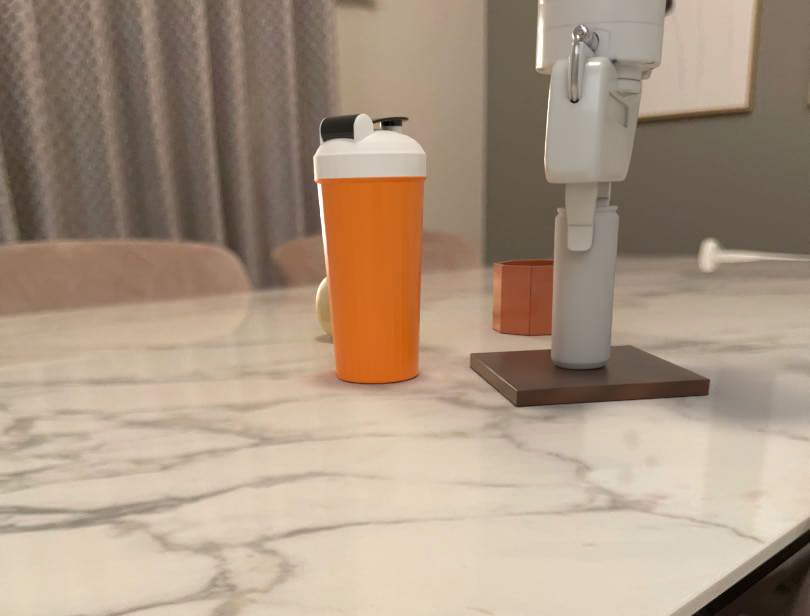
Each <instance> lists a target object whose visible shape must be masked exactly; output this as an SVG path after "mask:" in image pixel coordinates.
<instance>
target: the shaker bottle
mask: <svg viewBox="0 0 810 616" xmlns="http://www.w3.org/2000/svg"><path fill="white" fill-rule="evenodd" d="M409 119H410V118H409V117H407V116H388V117H377V118H371V117H370V116H369V115H368V114H366V113H354V114H345V115H343V114H342V115H333V116H327V117H325V118H323V119H322V120H321V122H320V124H319V128H318V131H319V146H318V147H317V150H316V152H315V154H314V155H313V157H312V158H313V175H314V179H313V180H314V182H315V184H317V192H318V193H317V194H318V202H319V212H320V223H321V232H322V242H323V252H324V261H325V263H324V264H325V271H326V272H325V273H326V277H327V282H328V293H329V303H330V313H331V323H332V333H333V337H332V341H333V342H332V343H333V350H334V351H333V352H334V361H335V371H336V377H337V378H338V379H340V380H342V381H345V382H349V383H356V384H390V383H396V382H397V383H398V382H403V381H408V380H411V379H414V378H415V377H417V376H418V374H419V365H420V364H419V363H420V362H419V361H420V334H421V333H420V330H421V328H420V327H421V326H420V325H421V299H422V298H421V297H422V296H421V294H422V293H421V292H422V264H423V262H422V261H423V259H422V258H423V228H424V227H423V226H424V225H423V224H424V193H425V192H424V191H425V181H426V180H427V179H428V175H427V153H426V152H425V150H424V149H423V147H422V146H421V144H420V142H418V141H417V140H415V139H414V138H412V137H411V136H409V135H406V134H404V133H403V129H402V127H403V123H405V122H408V121H410V120H409ZM375 124H379V128H375V127H374V125H375Z"/></svg>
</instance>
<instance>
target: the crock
mask: <svg viewBox="0 0 810 616" xmlns="http://www.w3.org/2000/svg"><path fill="white" fill-rule="evenodd" d="M553 272H554V259H549V258H548V259H547V258H533V259H508V260H501V261H495V262H493V284H492V285H493V286H492V287H493V292H492V329H493V330H495V331H497V332H498V333H500V334H507V335H508V334H509V335H519V336H546V335H547V336H548V335H552V306H553Z"/></svg>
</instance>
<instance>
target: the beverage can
mask: <svg viewBox="0 0 810 616" xmlns="http://www.w3.org/2000/svg"><path fill="white" fill-rule="evenodd" d="M618 208H619V206H618V205H609V206H595V218H594V225H595V233H594V245H593V246H592V248H591V249H589V250H587V251H571V250H570V249H568V247H567V235H568V223H567V215H566V206H561V207H557V208H556V211H557V215H556V216H555V219H554V237H553V238H554V239H553V241H554V242H553V244H554V245H553V260H554V272H553V306H552V334H551V343H550V344H551V345H550V349H551V359H552V361H553V362H554V363H555V365H557V366H558V367H561V368H567V369H594V368H600V367H603V366H605V365H606V364H607V362H608V360H609V359H610V350H611V346H612V331H613V316H614V315H613V314H614V313H613V312H614V296H615V281H616V269H617V268H616V267H617V255H618V241H619V225H620V224H619V223H620V215H619V214H618V213H617V210H618Z"/></svg>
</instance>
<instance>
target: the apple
mask: <svg viewBox="0 0 810 616" xmlns="http://www.w3.org/2000/svg"><path fill="white" fill-rule="evenodd" d="M315 311H316V316H317V319H318V322H319V324H320V326H321V328H322V329H323V331H324V332H325V333H326V334H327V335H329V336H330V337H332V338H333V333H332V323H331V313H330V303H329V293H328V282H327V276H325V278H323V279H322V281H321V282H320V284H319V287H318V289H317V292H316V297H315Z"/></svg>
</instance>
